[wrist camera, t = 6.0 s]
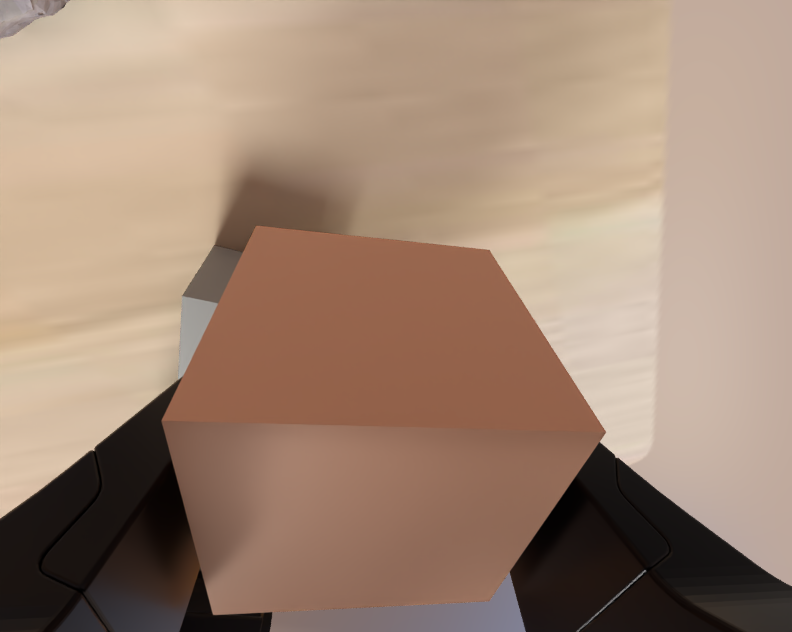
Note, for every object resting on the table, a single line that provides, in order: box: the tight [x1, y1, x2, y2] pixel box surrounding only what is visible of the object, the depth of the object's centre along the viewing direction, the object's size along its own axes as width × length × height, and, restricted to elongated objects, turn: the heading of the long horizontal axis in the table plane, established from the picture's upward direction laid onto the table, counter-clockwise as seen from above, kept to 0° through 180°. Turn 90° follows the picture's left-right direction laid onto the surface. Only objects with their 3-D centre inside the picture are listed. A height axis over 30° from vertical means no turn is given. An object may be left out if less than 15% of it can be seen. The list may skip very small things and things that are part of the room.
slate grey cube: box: [178, 245, 243, 380], centre depth 21 cm, size 5×5×5 cm
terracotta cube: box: [162, 226, 606, 615], centre depth 8 cm, size 5×5×5 cm
